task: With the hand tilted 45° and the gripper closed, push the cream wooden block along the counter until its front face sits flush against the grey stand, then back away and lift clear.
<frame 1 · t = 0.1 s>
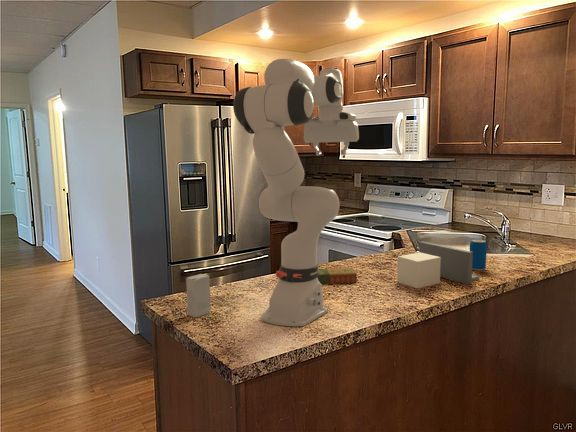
hand: (330, 155, 169), 48 cm above the counter, tool pointing down, fingers open, 8 cm apart
block: (418, 282, 175), on the counter
beverage can: (477, 269, 193), on the counter
skincare box: (199, 314, 144), on the counter
grey stand: (443, 276, 182), on the counter
carton: (334, 281, 179), on the counter
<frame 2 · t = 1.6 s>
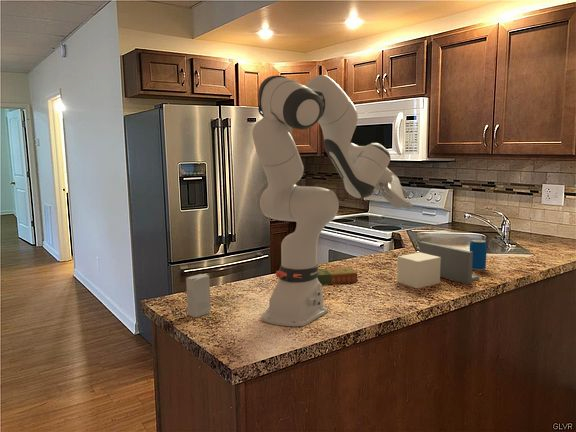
hand: (408, 201, 163), 32 cm above the counter, tool tilted 55°, fingers open, 8 cm apart
nothing on the counter moved.
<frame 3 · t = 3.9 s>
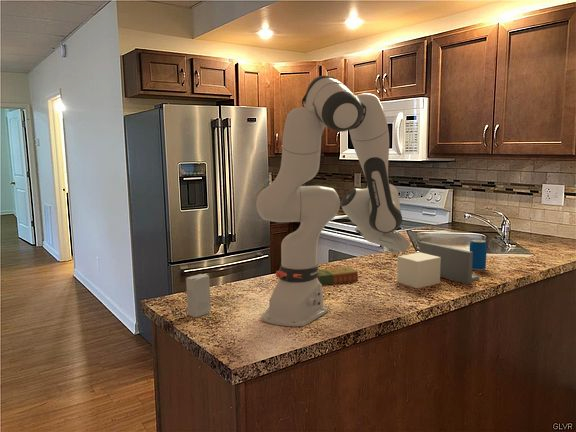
hand: (396, 251, 164), 14 cm above the counter, tool tilted 45°, fingers closed
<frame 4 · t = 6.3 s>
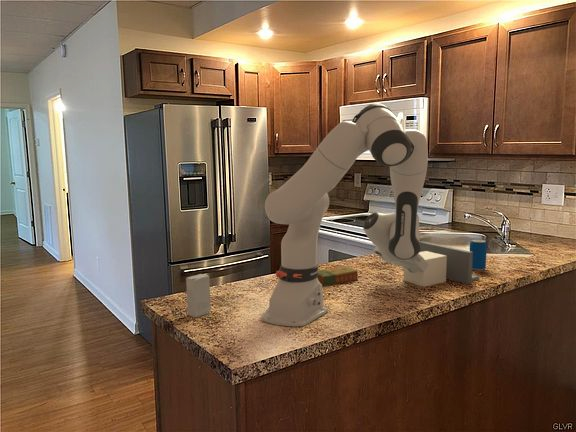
hand: (412, 271, 172), 5 cm above the counter, tool tilted 45°, fingers closed, pressing on block
block: (424, 281, 176), on the counter, touching gripper
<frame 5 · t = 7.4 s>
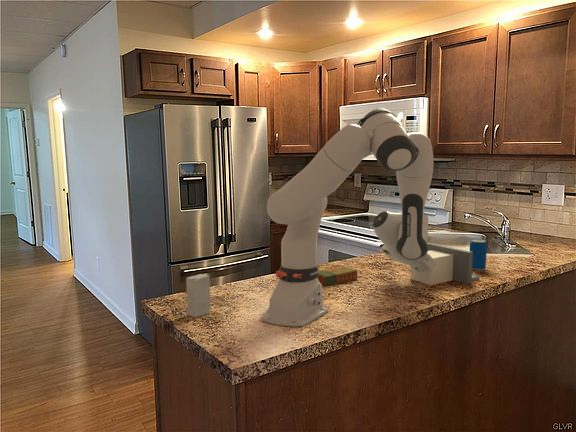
hand: (419, 269, 174), 5 cm above the counter, tool tilted 45°, fingers closed, pressing on block
block: (431, 279, 178), on the counter, touching grey stand, gripper
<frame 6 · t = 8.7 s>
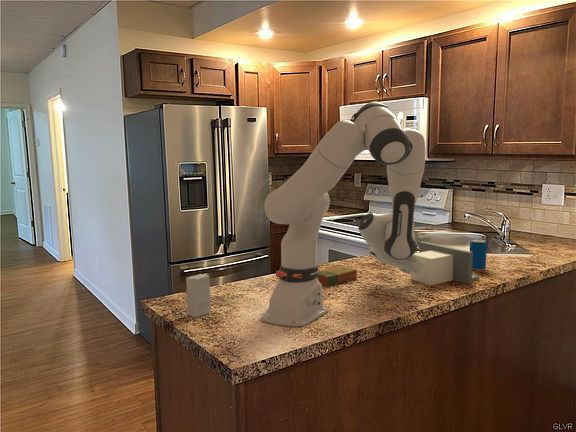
hand: (407, 271, 172), 5 cm above the counter, tool tilted 45°, fingers closed
block: (431, 279, 178), on the counter
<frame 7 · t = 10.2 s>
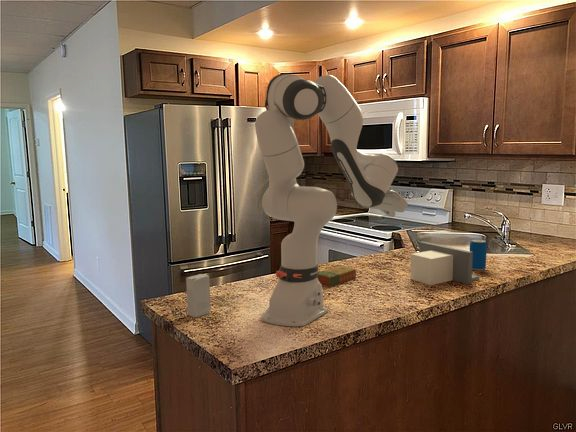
hand: (391, 215, 166), 26 cm above the counter, tool tilted 45°, fingers closed
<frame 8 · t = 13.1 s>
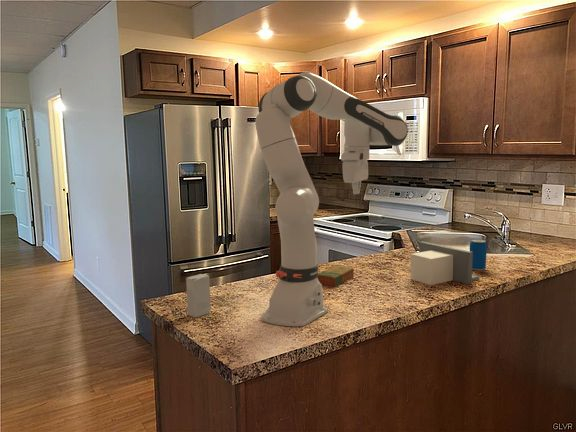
hand: (356, 193, 166), 34 cm above the counter, tool pointing down, fingers closed
at the end: block 7.0 cm from the grey stand (horizontally); block 0.5 cm from the target spot on the grey stand, point 0.0 cm above the grey stand's base; block tilted 0° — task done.
